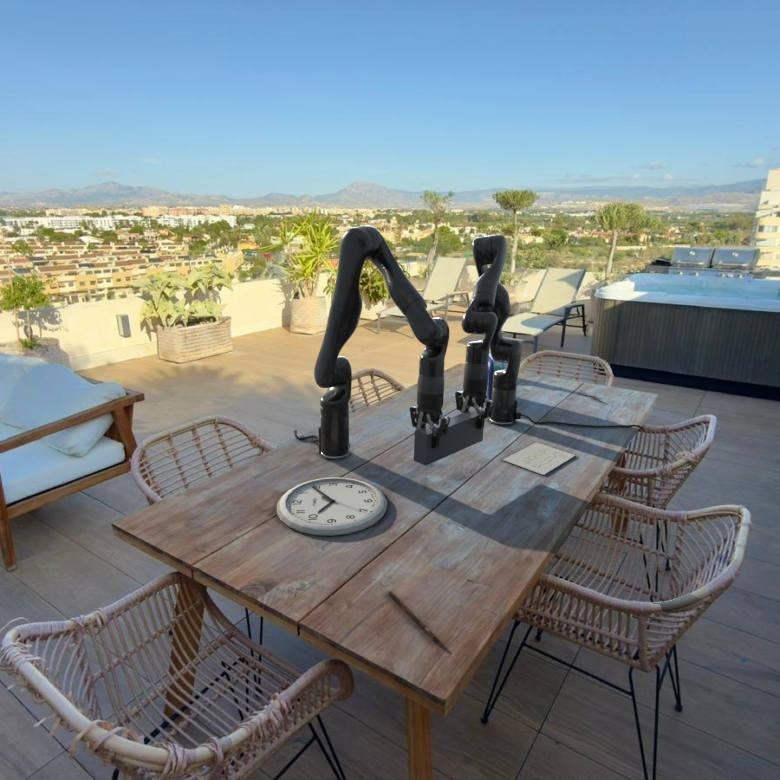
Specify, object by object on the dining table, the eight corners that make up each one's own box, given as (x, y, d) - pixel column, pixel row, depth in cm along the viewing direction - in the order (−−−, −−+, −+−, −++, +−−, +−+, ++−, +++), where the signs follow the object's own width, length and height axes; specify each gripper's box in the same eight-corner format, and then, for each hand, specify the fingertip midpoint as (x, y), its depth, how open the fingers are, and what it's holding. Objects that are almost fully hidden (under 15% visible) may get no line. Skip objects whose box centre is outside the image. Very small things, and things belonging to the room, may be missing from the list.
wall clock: (392, 527, 129) (268, 531, 127) (391, 533, 130) (269, 537, 127) (383, 473, 158) (282, 475, 155) (383, 478, 158) (282, 480, 156)
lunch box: (475, 390, 246) (478, 346, 240) (498, 390, 246) (501, 347, 240) (484, 408, 221) (487, 360, 215) (509, 409, 221) (513, 360, 215)
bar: (470, 436, 172) (473, 409, 169) (482, 440, 169) (484, 413, 166) (413, 460, 153) (414, 430, 150) (425, 465, 150) (426, 435, 147)
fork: (599, 403, 231) (599, 398, 230) (577, 392, 245) (578, 388, 245) (604, 402, 231) (604, 398, 231) (582, 392, 246) (583, 387, 245)
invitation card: (535, 442, 186) (575, 454, 176) (535, 442, 187) (575, 455, 176) (502, 459, 172) (543, 474, 162) (502, 460, 172) (543, 475, 162)
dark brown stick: (388, 595, 108) (388, 591, 108) (390, 594, 108) (390, 590, 108) (433, 641, 96) (433, 637, 96) (435, 640, 96) (435, 636, 96)
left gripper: (403, 386, 150) (401, 441, 155) (441, 398, 140) (438, 456, 145) (420, 381, 155) (418, 434, 160) (458, 392, 145) (455, 449, 150)
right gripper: (450, 372, 164) (447, 423, 169) (487, 382, 154) (483, 436, 159) (464, 368, 169) (461, 418, 174) (502, 378, 159) (498, 430, 164)
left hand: (427, 444), depth 153 cm, fingers closed on bar, 4 cm apart
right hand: (472, 426), depth 167 cm, fingers open, 5 cm apart
